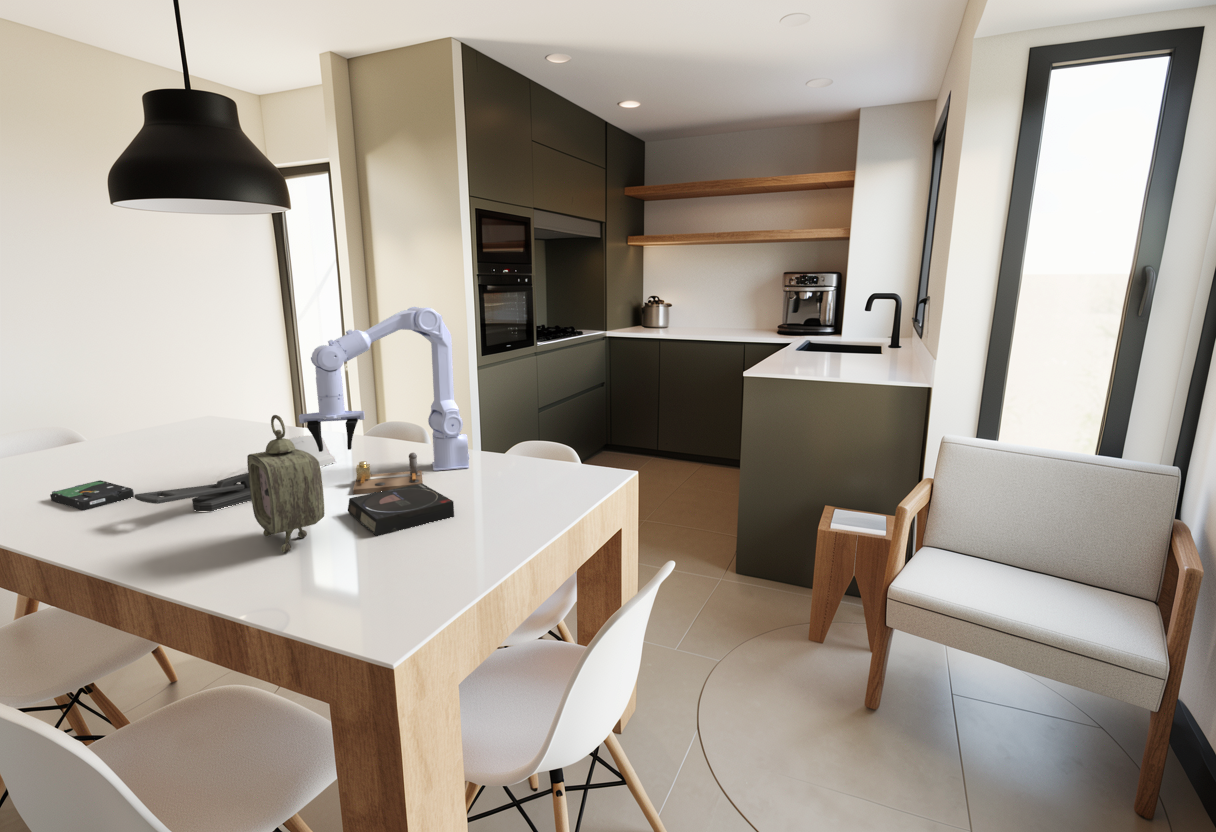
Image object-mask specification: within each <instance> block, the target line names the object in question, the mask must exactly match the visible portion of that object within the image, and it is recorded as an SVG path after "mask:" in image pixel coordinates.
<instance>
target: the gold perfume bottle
mask: <svg viewBox="0 0 1216 832" xmlns="http://www.w3.org/2000/svg"><path fill="white" fill-rule="evenodd" d="M367 462H368V461H365V460H363V461H359V462H358V464H356V468H355V472H356V477H357V480H361V482H360V483H364V482H365V479H370V476H371V472H372V471H371V463H367Z"/></svg>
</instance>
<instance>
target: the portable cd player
mask: <svg viewBox="0 0 1216 832" xmlns="http://www.w3.org/2000/svg"><path fill="white" fill-rule="evenodd" d="M347 506H348V507H347V512H348V513H349V515H350V516H352V517H353V518H354V519H356V521H358V522H359V523H360V524H361V525H363V526H364V527H365V528H366V529H367V530H369V531H370V532H371V533H372V534H373V535H374V536H376V537H380V536H384V535H387V534H392V533H396V532H400V531H403V529H404V530H408V529H412V528H416V527H420V526H424V525H427V524H426V523H428V524H430V523H429V522H432V523H435V522H434V521H436V522H439V521H438V520H440V521H443V520H442V519H444V520H447V518H448V519H451V518H450V517H452V518H455V509H454V508H455V507H454V506H455V505H454V500H452V499H450V498H448V497H447V496H445V495H443V494H441V493H440V492H438V491H437V490H434V489H432V488H431V487H429V486H427V485H426V484H424V483H423V484H422V483H420V484H416V485H411V486H406V487H401V488H396V489H391V490H387V491H382V492H376V493H366V494H361V495H359V496H353V497H349V499H348V505H347ZM423 524H424V525H423ZM419 525H420V526H419ZM415 526H416V527H415ZM411 527H412V528H411ZM399 530H400V531H399Z"/></svg>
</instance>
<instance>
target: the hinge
mask: <svg viewBox="0 0 1216 832" xmlns="http://www.w3.org/2000/svg"><path fill="white" fill-rule="evenodd" d="M289 440H290V441H292V443H293V444H294V446H295V449H299V450H302V451H305V452H307V453H309V454H311V455H312V456H314V457H315V458H316V459H317V460H318V462H319V465H320V466H323V465H327V464H330V463H333V462H336V463H337V461H336V458H335V456H334V455H332V454H331V452H330V450H329V448H328V446H327V444H326V442H325V440H324V438H323V437H322V443H323V451H322V452H319V449H318V446H317V443H316V441H315V439H314V437H313V435H300V436H295V437H291V438H289ZM327 466H328V465H327Z"/></svg>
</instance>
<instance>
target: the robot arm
mask: <svg viewBox="0 0 1216 832" xmlns="http://www.w3.org/2000/svg"><path fill="white" fill-rule="evenodd" d="M400 330H407V331H412V332H415V333H417V334H419V335H422V336H423V337H424V338H425V339H426V340H428V342H430V344H431V362H432V363H431V364H432V382H433V383H432V386H433V402H432V403H431V405H430V413H429V416H428V418H427V419H428V420H427V422H428V425H429V427H430V429H431V430H432V448H433V449H432V450H433V461H432V462H431V464H432V470H433V472H434V471H437V472H438V471H444V470H445V471H447V470H457V469H458V470H459V469H460V470H461V469H469V468H470V461H469V460H470V453H469V443H468V442H469V440H468V435H467V434H466V433H462V434H461V431H462V430H463V428H464V427H463V426H464V422H463V418H462V417H461V415H460V409H459V406H458V404H457V403H456V401H455V390H454V388H455V387H454V386H455V385H454V368H453V365H454V362H453V344H452V343H453V339H452V334H451V332H450V330H449V328H448V327H447V326H446V323H445V322H444V320H443V315H442V314H440V313H438V312H437V311H436V310H435V309H434V308H431V307H419V306H418V307H417V306H411V307H409V308H407V309H404V310H401V311H399V312H397V313H395V314H393V315H391V316H389V317H388V318H386V319H383V320H382V321H380V322H378V323H377V324H374V325H373V326H371V327H369V328H367V329H366V330H364V331H362V330H359V329H354V330H352V329H348V330H346V331H345V334H344V335H342V336H340V337H338V338H336V339H330V340H327V343H328V344H327V345H326V344H325V345H324V344H323V345H319V346H317V347H316V348H314V349H313V351H312V353H311V356H310V361H311V363H312V365H313V366H314V367H315V369H314V370H315V384H316V395H317V404H318V412H312V413H309V412H308V413H301V414H299V415H298V420H299V421H298V423H299V424H305V423H307V424H306V427H307V430H308V431H309V432H310V434H311V436H313V437H314V439H315V441H316V443H317V446H318V449H319V452H322V451H323V443H322V438H323V437H322V423H323V422H338V421H341V422H342V421H345V428H346V441H347V444H346V445H347V450H348V451H349V450H352V449H353V448H352V447H353V446H352V444H353V443H352V442H353V438H354V434H355V429H356V426H357V424H358V421H364V420H365V419H366V417H365V415H366V414H365V410H345V400H344V397H345V396H344V388H343V376H342V371H341V370H342V369H341V368H342V366H343V365H344V363H347V362H349V361H350V360H353V359H355V358H356V357H358V356H360V355H362V354H364V353H366V352H367V351H369V350H370V348H371V345H372V343H374V342H376V341H378V340H380V339H381V340H382V338H385V337H387V336H389V335H391V334H393V333H396V332H397V331H400Z"/></svg>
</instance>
